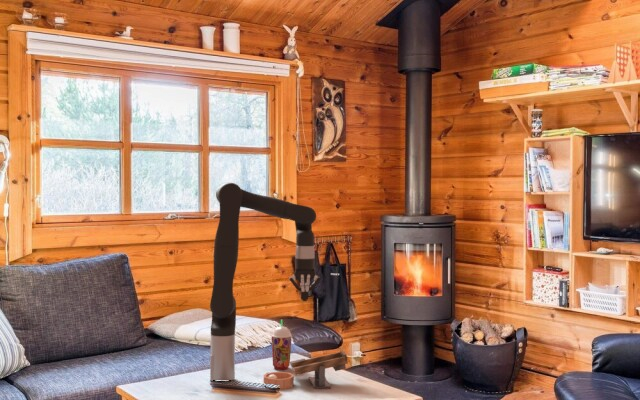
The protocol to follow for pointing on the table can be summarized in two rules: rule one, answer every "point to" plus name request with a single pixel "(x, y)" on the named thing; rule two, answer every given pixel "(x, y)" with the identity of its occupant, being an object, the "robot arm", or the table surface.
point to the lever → (320, 363)
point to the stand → (320, 379)
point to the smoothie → (281, 347)
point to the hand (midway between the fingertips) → (304, 300)
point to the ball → (273, 376)
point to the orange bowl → (280, 379)
